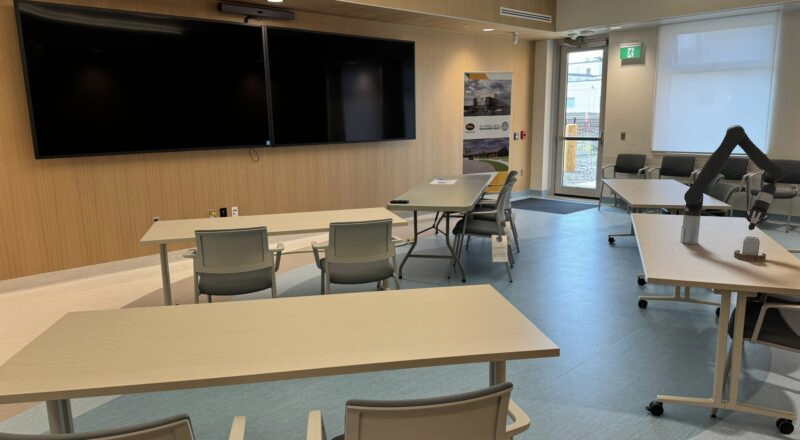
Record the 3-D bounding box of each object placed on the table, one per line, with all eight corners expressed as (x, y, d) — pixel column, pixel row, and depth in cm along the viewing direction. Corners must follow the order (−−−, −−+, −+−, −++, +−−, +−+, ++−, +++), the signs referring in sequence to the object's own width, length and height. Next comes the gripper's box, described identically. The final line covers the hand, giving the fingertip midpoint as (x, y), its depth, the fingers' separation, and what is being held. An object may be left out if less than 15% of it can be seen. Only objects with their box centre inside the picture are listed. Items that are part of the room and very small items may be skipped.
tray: (738, 260, 292) (739, 255, 291) (731, 254, 304) (731, 249, 304) (769, 262, 288) (770, 256, 287) (760, 256, 301) (761, 251, 300)
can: (749, 260, 291) (752, 239, 289) (738, 257, 298) (740, 236, 296) (761, 260, 293) (763, 238, 291) (749, 256, 300) (752, 235, 298)
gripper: (748, 196, 308) (736, 224, 309) (775, 203, 300) (762, 231, 300) (750, 200, 314) (738, 227, 314) (777, 206, 305) (764, 235, 305)
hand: (750, 229), depth 307 cm, fingers closed
